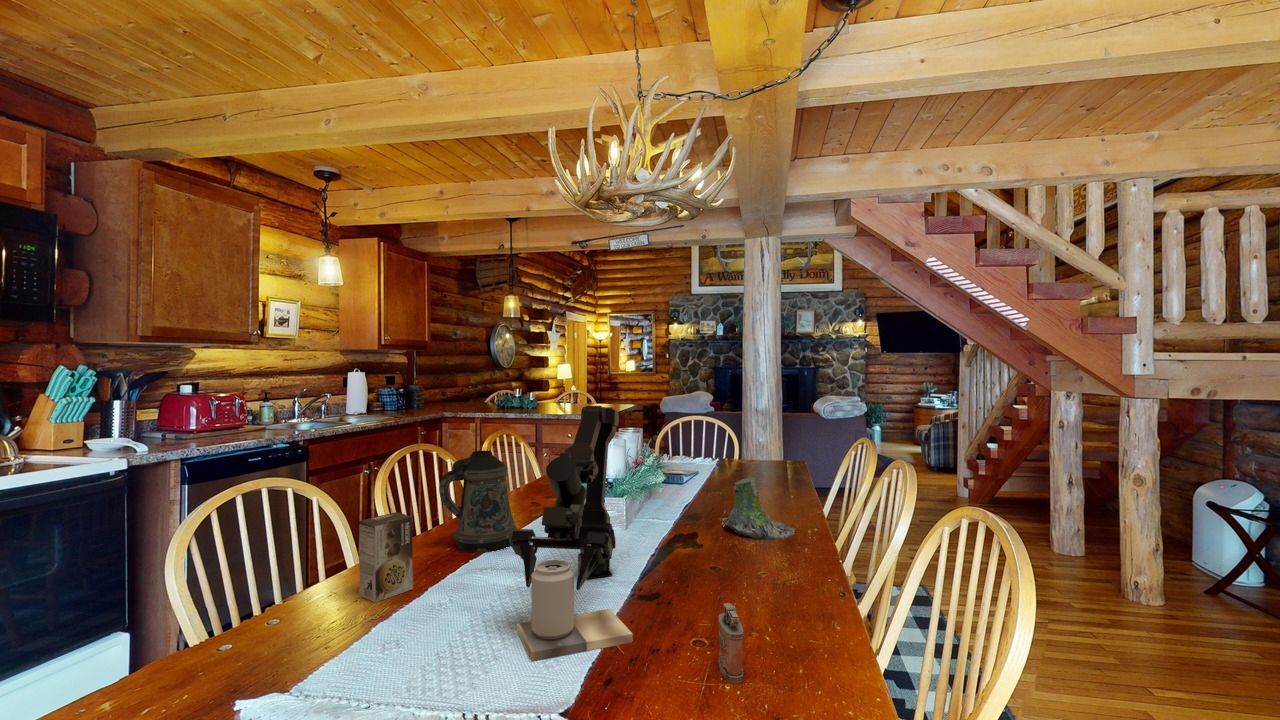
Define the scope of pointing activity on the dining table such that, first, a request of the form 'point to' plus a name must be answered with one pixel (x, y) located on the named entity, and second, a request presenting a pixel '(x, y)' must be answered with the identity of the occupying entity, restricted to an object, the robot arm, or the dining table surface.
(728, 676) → the lighter
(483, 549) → the beer stein
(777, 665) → the dining table surface
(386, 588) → the coffee box
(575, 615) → the subfloor panel
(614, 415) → the robot arm
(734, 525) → the tree stump
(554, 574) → the can
